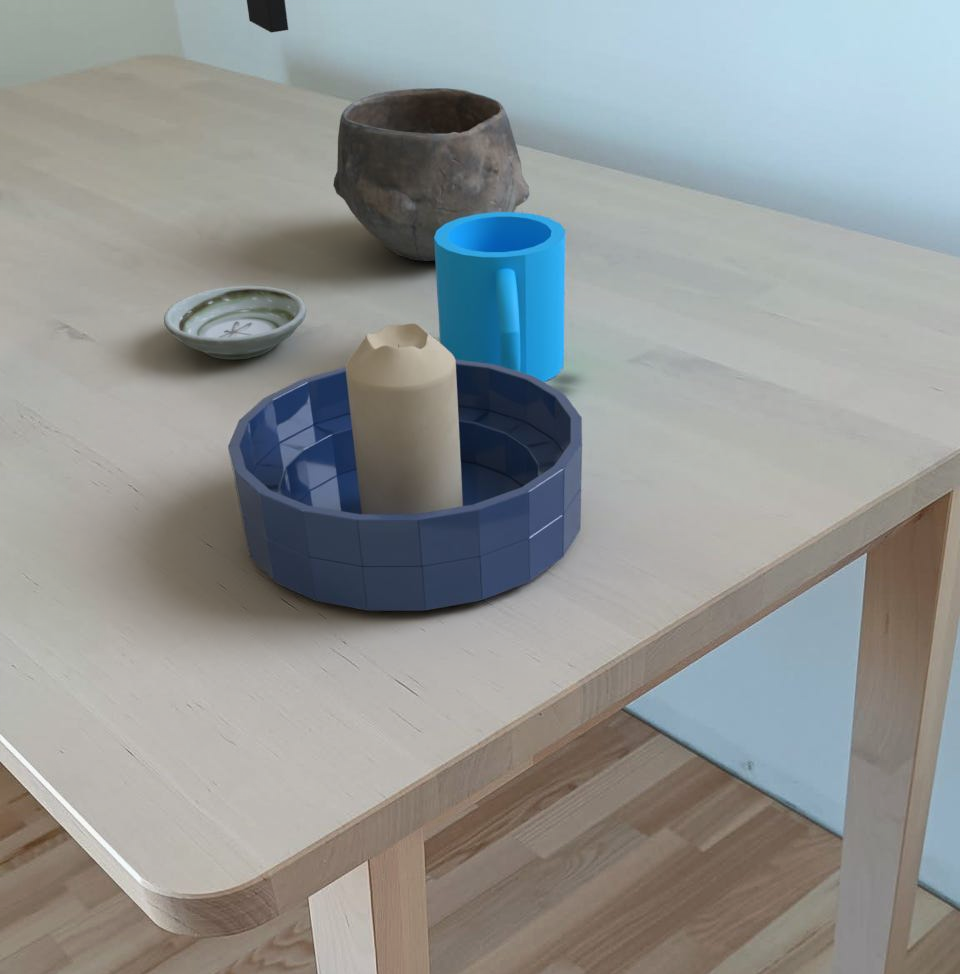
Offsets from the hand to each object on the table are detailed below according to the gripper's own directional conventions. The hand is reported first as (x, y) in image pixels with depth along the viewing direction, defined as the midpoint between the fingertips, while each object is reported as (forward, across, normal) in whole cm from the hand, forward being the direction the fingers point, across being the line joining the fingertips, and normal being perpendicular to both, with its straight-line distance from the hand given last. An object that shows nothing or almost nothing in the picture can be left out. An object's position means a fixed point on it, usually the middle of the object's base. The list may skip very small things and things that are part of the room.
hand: (417, 4), depth 55 cm
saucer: (+24, -3, +27) cm, 36 cm away
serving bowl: (+24, -3, -1) cm, 24 cm away
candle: (+23, -3, -1) cm, 24 cm away
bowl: (+24, +16, +38) cm, 47 cm away
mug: (+24, +10, +13) cm, 29 cm away
